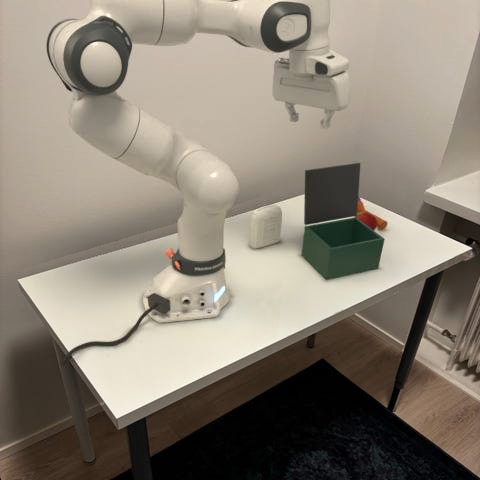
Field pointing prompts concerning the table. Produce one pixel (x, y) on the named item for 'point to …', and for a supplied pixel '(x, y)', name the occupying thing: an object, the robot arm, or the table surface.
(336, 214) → the bin lid
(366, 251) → the bin
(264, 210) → the photo printer
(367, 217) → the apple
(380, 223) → the kendama
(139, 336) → the table surface
